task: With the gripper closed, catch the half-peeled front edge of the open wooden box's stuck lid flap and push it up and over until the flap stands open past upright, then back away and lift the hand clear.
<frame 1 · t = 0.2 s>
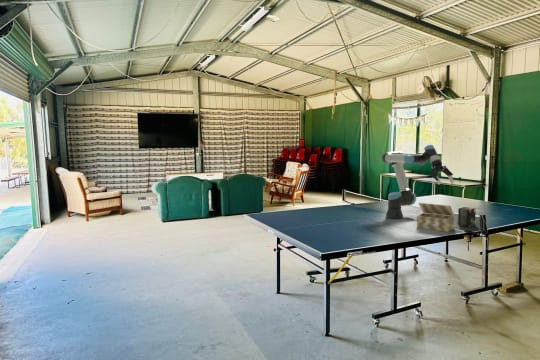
hand: (446, 183, 285), 36 cm above the table, tool tilted 35°, fingers open, 13 cm apart
flap: (436, 209, 286), point 15 cm above the table, hinge at 40.0°
open wooden box: (435, 228, 286), on the table
tampon box: (466, 225, 292), on the table
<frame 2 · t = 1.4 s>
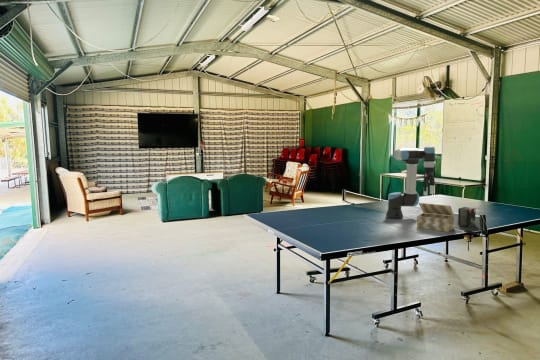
hand: (428, 194, 271), 29 cm above the table, tool pointing down, fingers open, 13 cm apart
nothing on the table moved.
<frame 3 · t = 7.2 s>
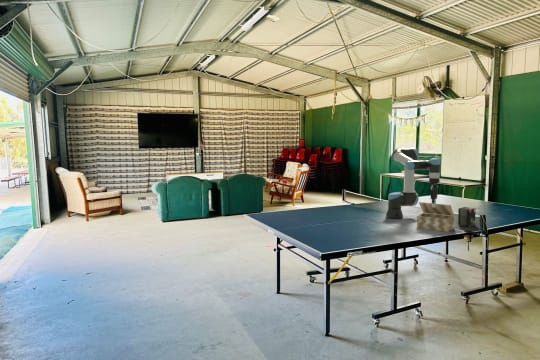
hand: (433, 207, 282), 18 cm above the table, tool pointing down, fingers closed
flap: (436, 208, 286), point 15 cm above the table, hinge at 42.9°, touching gripper
everything else where it was.
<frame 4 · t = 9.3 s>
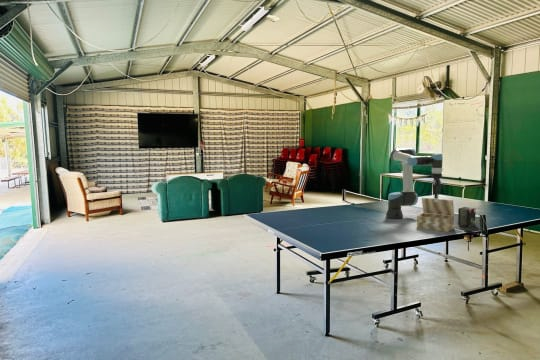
hand: (436, 202, 285), 21 cm above the table, tool pointing down, fingers closed
flap: (437, 206, 288), point 17 cm above the table, hinge at 70.3°, touching gripper
everything else where it was.
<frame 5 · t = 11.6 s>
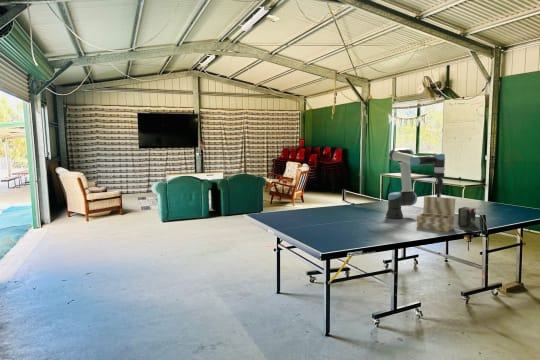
hand: (438, 201, 289), 21 cm above the table, tool pointing down, fingers closed
flap: (438, 205, 290), point 17 cm above the table, hinge at 95.1°, touching gripper
everything else where it was.
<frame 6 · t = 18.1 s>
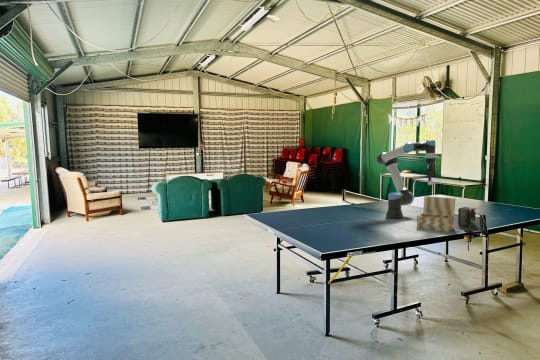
hand: (429, 184, 309), 32 cm above the table, tool pointing down, fingers closed
flap: (438, 205, 290), point 17 cm above the table, hinge at 95.1°
everything else where it was.
at the end: flap at +95° (first picture: +40°); the gripper is holding nothing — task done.
